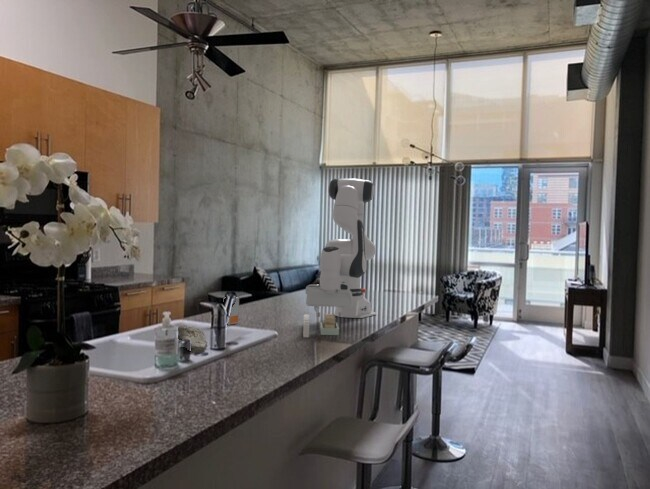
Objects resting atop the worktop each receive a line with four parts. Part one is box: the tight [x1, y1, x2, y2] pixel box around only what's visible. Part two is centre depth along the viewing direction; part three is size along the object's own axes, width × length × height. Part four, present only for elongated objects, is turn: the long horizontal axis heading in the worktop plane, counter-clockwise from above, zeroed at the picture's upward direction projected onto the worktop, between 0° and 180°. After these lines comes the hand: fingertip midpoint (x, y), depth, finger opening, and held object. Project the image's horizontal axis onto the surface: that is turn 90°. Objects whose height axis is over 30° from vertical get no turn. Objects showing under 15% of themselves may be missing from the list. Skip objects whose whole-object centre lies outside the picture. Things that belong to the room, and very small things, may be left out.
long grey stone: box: [177, 324, 208, 354], centre depth 197 cm, size 35×5×10 cm
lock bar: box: [323, 313, 336, 328], centre depth 223 cm, size 10×4×6 cm, turn 2°
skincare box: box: [223, 296, 240, 326], centre depth 236 cm, size 6×4×12 cm
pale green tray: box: [319, 321, 340, 336], centre depth 223 cm, size 14×8×3 cm, turn 2°
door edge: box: [302, 313, 310, 338], centre depth 224 cm, size 26×2×5 cm, turn 2°
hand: (329, 316), depth 223 cm, fingers open, 8 cm apart
